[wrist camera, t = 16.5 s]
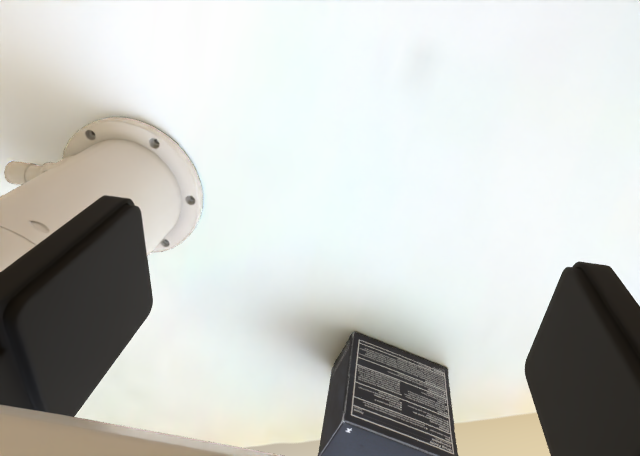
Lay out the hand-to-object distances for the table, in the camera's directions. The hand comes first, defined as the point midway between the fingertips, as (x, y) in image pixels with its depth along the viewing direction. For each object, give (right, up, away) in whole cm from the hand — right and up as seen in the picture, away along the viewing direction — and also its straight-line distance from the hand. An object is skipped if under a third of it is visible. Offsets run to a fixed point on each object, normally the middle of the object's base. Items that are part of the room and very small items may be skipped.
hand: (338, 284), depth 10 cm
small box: (+7, -13, +37) cm, 40 cm away
